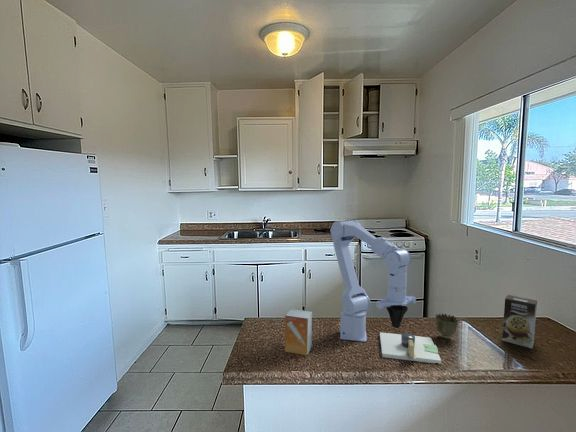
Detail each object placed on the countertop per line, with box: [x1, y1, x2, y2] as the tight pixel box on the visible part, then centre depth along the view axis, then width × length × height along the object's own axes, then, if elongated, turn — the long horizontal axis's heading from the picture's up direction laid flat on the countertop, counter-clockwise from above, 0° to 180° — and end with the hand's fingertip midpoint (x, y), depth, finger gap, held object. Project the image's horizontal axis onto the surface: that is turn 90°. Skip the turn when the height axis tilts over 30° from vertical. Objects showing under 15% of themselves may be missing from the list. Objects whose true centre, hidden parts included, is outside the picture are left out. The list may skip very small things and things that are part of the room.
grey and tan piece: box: [401, 332, 416, 358], centre depth 106 cm, size 11×4×4 cm, turn 167°
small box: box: [284, 308, 313, 356], centre depth 108 cm, size 8×6×13 cm
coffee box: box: [501, 294, 538, 349], centre depth 114 cm, size 9×6×16 cm
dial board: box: [379, 331, 442, 365], centre depth 109 cm, size 19×18×1 cm
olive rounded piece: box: [435, 313, 459, 340], centre depth 117 cm, size 8×7×8 cm
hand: (395, 326), depth 103 cm, fingers closed
